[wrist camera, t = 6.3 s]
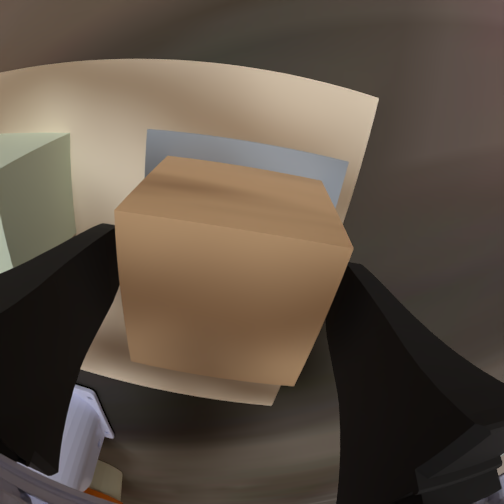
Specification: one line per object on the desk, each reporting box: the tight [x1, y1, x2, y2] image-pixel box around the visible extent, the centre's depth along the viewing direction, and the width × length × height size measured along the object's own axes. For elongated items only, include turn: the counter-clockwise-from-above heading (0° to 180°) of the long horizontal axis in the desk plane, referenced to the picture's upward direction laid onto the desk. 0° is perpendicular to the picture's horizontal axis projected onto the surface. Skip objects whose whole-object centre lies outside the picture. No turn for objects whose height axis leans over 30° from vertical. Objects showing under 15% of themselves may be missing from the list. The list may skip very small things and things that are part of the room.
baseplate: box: [0, 59, 379, 406], centre depth 14 cm, size 18×16×1 cm
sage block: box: [0, 133, 76, 273], centre depth 9 cm, size 4×4×4 cm
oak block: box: [114, 156, 354, 386], centre depth 10 cm, size 5×5×4 cm
